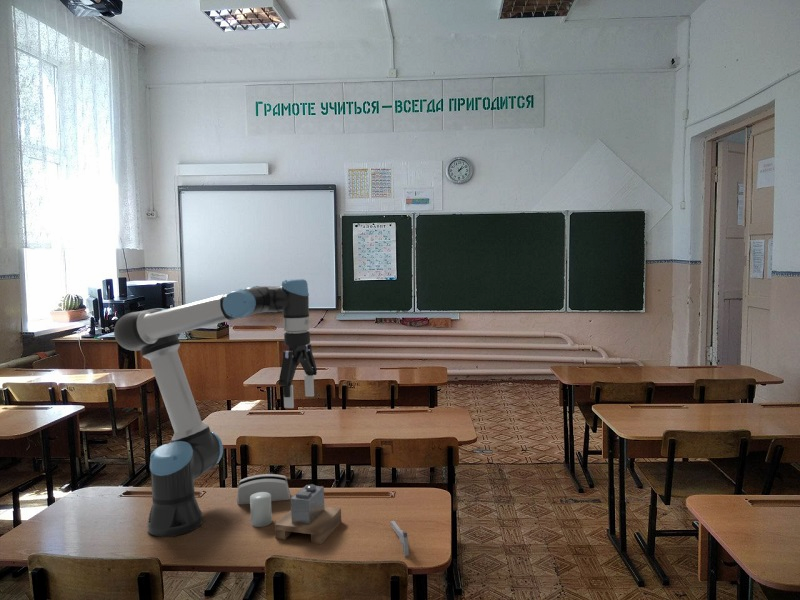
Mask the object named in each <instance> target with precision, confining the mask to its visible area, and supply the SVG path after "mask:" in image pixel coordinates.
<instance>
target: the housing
mask: <svg viewBox="0 0 800 600" xmlns="http://www.w3.org/2000/svg"><path fill="white" fill-rule="evenodd" d="M324 489H325V486H322V485H321V486H319V485H315V484H313V483H312V484H306V485H305V486H303V487H302V488H301V489H300V490H299V491H298V492H297V493H295V494H294V495H293V496H292V497H290V510H291V518H292V523H296V524H304V525H310V524H311V523H312V522H313V521H314V520H315V519H316V518H317V517H318V516H319V515H320V514H321V513H322V512H323V511H324V510H325V508H324V507H325V490H324Z"/></svg>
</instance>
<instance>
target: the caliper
mask: <svg viewBox="0 0 800 600" xmlns="http://www.w3.org/2000/svg"><path fill="white" fill-rule="evenodd" d="M389 523H390V526H391V528H392V530H393V531H394V532H395V534H396V535H397V537H398V538H399V542H400V543H401V545H402V546H401V547H402V554H403V555H404V558H406V557H409V556H410V554H409V552H410V551H409V539H408V538H409V537H408V532H407V531H406V530H402V529H401V528H400V526H399V525H398V524H397V522H396V521H395V520H390V522H389Z"/></svg>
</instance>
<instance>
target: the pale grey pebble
mask: <svg viewBox="0 0 800 600" xmlns="http://www.w3.org/2000/svg"><path fill="white" fill-rule="evenodd" d="M249 506H250V507H249V508H250V525H251V526H253V527H256V528H263V527H267V526H269V525H270V524H271V523H273V518H272V516H273V515H272V501H271V494H270V493H268V492H258V493H254V494H252V495H251V496H250V503H249Z"/></svg>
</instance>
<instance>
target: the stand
mask: <svg viewBox="0 0 800 600" xmlns="http://www.w3.org/2000/svg"><path fill="white" fill-rule="evenodd" d="M324 508H325V510H324V511H323V512H322V513H321V514H320V515H319V516H318V517H317V518H316V519H315V520H314V521H313V522H312V523H311V524H310V525H304V524H296V523H292V518H291V509H290V510H289V511H288V512H287V513H286V514H285V515H283V517H281V518H280V519H279V520H277V522H276V523H275V524H274V534H275V536H274V537H275V539H277V540H280V539H281V540H286V539H287V538H288V537H289V536H290V535H291V534H292V533H299V534H300V533H301V534H308V535H310V539H311V544H317V545H322V544H323V543H324V542H326V540H327V538H328V537H329V536H330V535H332V533H333V532H334V531H335V529H336V528H338V526H339V525H340V524H341V523H342V508H341V507H340V508H339V507H330V506H324Z"/></svg>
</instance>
